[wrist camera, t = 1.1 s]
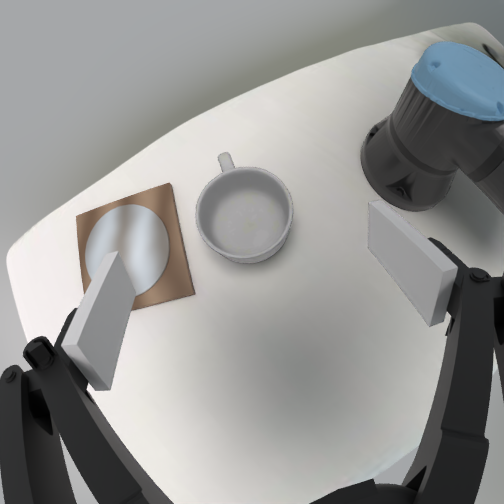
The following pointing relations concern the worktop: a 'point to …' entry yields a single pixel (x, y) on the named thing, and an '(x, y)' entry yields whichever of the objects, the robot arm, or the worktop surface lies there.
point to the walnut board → (138, 245)
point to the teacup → (244, 212)
